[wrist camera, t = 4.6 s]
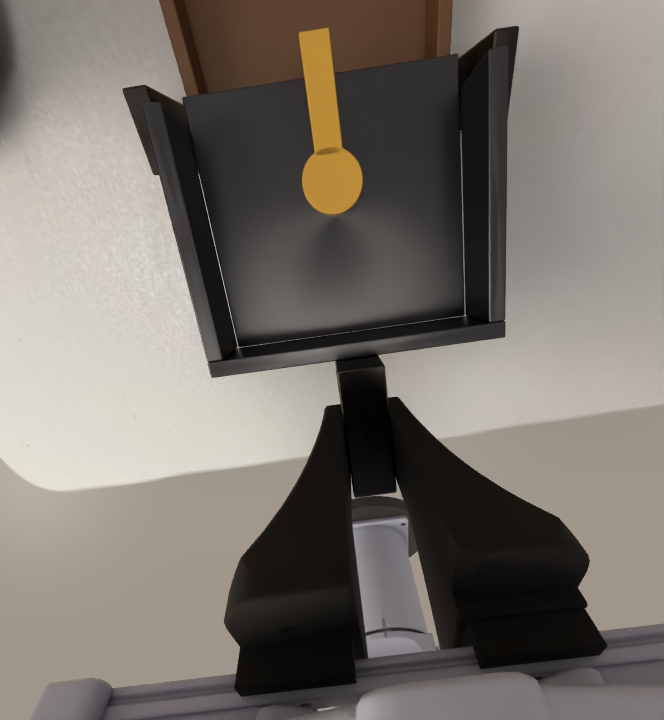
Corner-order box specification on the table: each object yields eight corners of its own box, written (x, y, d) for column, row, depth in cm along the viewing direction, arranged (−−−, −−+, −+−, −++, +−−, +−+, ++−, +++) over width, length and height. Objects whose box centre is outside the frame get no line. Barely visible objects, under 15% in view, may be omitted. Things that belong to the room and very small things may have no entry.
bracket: (459, 133, 14) (508, 121, 11) (192, 174, 15) (153, 175, 11) (464, 64, 13) (521, 24, 10) (171, 110, 13) (120, 87, 10)
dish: (475, 427, 15) (522, 477, 11) (254, 456, 15) (232, 514, 12) (469, 60, 11) (538, -42, 7) (172, 108, 11) (99, 30, 8)
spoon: (365, 211, 12) (366, 209, 11) (307, 220, 12) (307, 218, 12) (346, 32, 10) (347, 23, 10) (281, 43, 10) (280, 34, 10)
